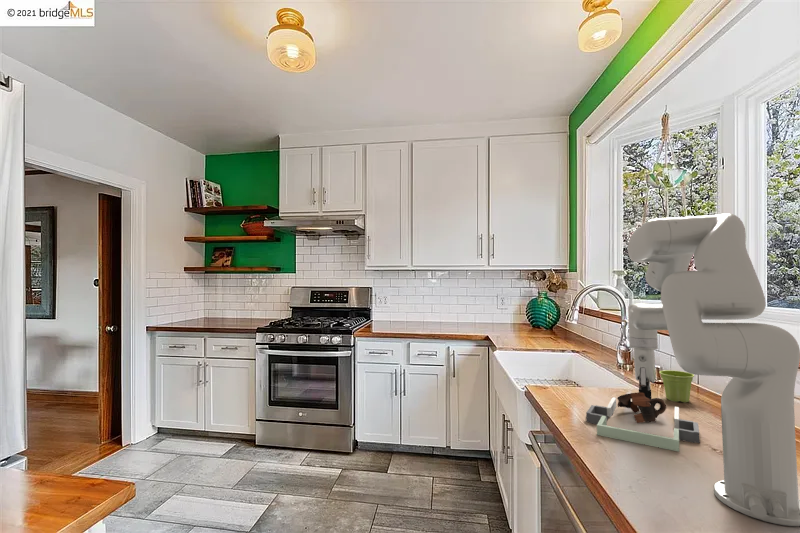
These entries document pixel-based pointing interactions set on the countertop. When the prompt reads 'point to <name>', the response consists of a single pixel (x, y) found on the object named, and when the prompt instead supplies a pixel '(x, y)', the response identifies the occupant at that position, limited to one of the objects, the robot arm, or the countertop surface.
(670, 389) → the plant pot
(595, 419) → the pale green flat frame
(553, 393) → the countertop surface
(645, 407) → the pottery mug
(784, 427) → the robot arm
